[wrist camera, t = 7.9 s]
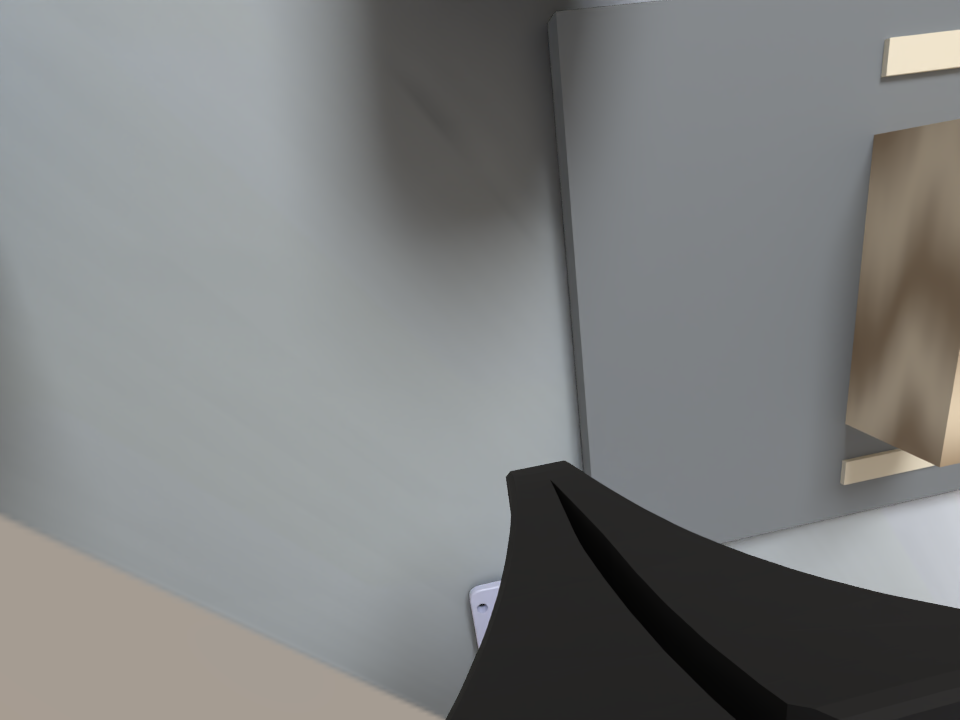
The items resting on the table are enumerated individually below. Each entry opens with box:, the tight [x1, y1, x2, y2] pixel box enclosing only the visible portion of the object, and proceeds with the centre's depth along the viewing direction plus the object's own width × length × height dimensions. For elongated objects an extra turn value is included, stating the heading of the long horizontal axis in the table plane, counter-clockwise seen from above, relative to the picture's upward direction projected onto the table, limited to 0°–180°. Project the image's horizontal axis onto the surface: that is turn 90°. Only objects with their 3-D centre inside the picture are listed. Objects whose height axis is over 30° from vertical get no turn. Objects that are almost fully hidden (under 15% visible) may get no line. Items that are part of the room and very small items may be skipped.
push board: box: [547, 0, 960, 544], centre depth 20 cm, size 22×27×1 cm
